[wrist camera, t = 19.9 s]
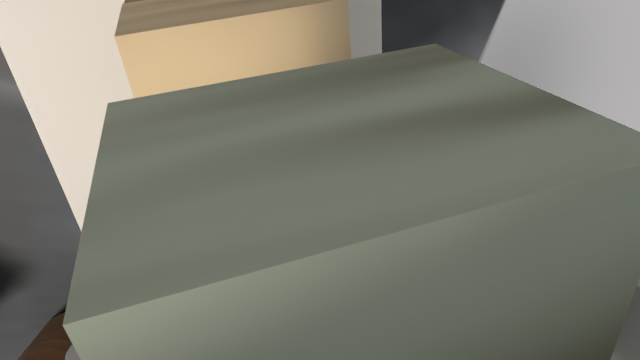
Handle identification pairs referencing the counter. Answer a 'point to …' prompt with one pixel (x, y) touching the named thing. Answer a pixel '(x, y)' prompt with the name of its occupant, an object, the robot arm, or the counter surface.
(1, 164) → the counter surface
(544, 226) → the sage brick
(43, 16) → the baseplate
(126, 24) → the oak brick
